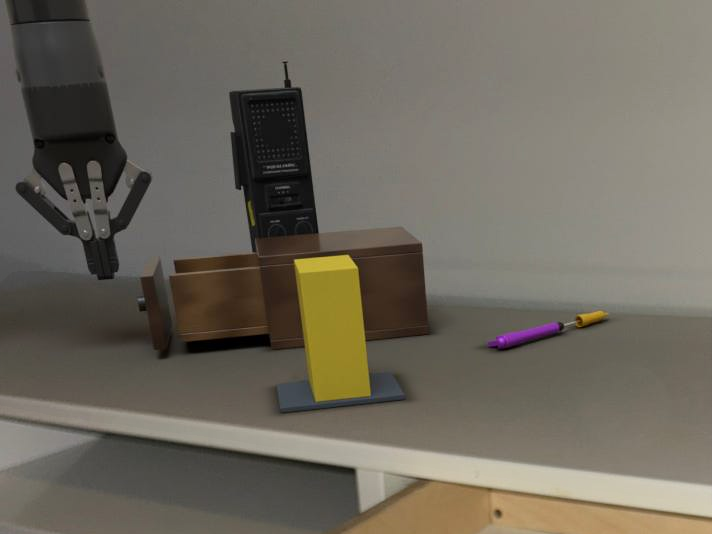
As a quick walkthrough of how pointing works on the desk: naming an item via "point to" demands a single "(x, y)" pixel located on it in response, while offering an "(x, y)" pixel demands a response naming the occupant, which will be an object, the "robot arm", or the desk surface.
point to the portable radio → (273, 161)
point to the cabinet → (376, 277)
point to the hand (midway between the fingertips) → (106, 278)
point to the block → (333, 327)
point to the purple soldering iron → (544, 330)
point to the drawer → (205, 298)
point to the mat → (302, 398)
